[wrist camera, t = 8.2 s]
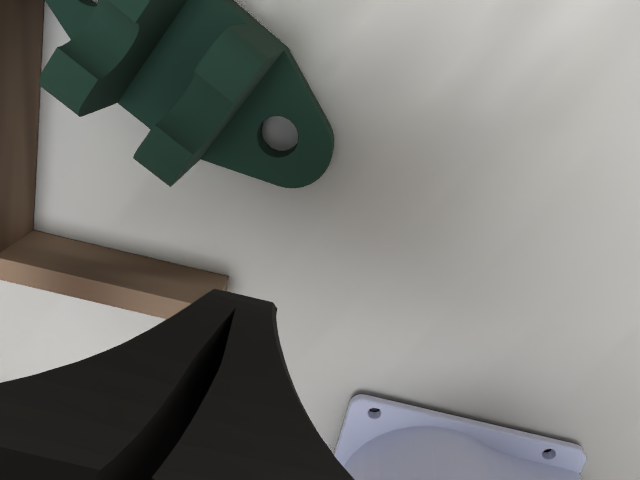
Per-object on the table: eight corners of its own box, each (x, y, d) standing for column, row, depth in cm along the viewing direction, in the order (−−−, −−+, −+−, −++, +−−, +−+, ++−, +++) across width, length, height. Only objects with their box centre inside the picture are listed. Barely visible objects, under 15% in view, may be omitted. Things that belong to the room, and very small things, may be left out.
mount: (367, 115, 20) (368, 148, 15) (285, 211, 21) (262, 268, 17) (93, -123, 18) (-3, -168, 13) (22, 0, 19) (-87, -2, 15)
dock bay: (324, -234, 16) (317, -274, 14) (225, 295, 22) (208, 328, 20) (29, -308, 16) (-28, -361, 14) (11, 245, 22) (-31, 272, 20)
